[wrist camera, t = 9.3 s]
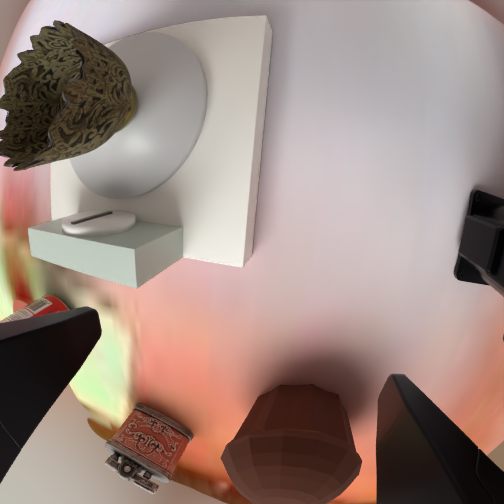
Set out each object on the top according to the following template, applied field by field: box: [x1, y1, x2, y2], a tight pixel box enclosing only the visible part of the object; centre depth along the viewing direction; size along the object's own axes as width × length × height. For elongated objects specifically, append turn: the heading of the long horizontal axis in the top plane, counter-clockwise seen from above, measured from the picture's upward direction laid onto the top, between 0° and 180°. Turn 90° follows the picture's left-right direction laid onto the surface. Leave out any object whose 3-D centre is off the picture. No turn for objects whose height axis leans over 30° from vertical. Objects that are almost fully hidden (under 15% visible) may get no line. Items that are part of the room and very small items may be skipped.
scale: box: [28, 15, 273, 288], centre depth 15 cm, size 18×16×8 cm
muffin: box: [221, 384, 362, 504], centre depth 18 cm, size 12×11×10 cm
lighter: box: [105, 404, 193, 494], centre depth 23 cm, size 8×3×10 cm, turn 69°
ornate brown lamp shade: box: [0, 20, 138, 171], centre depth 11 cm, size 8×7×8 cm
